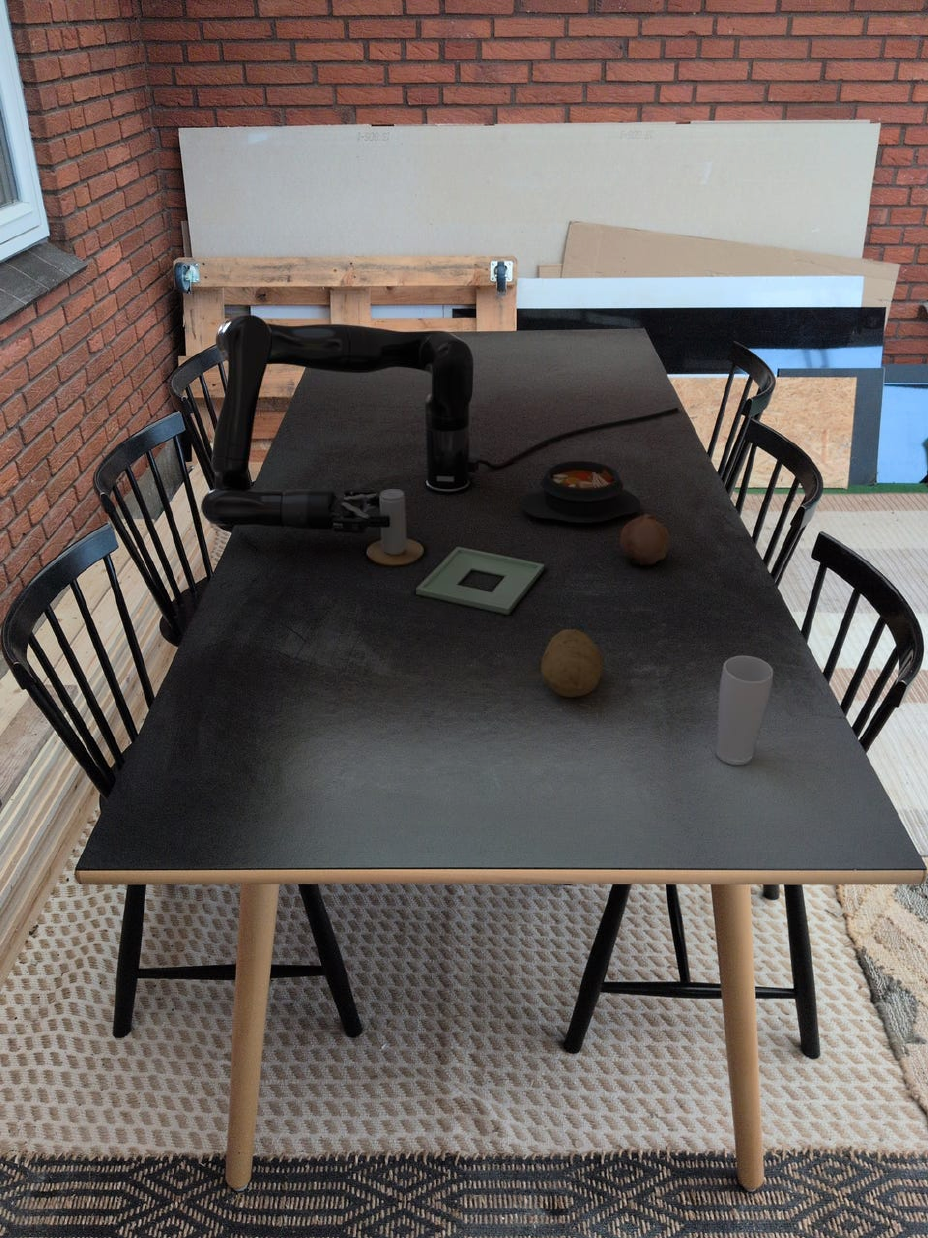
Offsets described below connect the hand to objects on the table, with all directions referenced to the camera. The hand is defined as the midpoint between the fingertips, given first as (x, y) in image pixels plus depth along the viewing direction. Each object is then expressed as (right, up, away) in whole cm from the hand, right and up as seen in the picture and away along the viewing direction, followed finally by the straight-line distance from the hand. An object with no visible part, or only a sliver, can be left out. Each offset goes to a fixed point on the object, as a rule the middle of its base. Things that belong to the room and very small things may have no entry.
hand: (393, 511), depth 197 cm
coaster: (0, -7, +5) cm, 9 cm away
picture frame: (+17, -14, -6) cm, 22 cm away
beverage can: (0, -7, +4) cm, 8 cm away
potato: (+30, -31, -34) cm, 55 cm away
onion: (+48, -9, +1) cm, 49 cm away
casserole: (+38, +2, +20) cm, 43 cm away
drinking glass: (+52, -40, -49) cm, 82 cm away
